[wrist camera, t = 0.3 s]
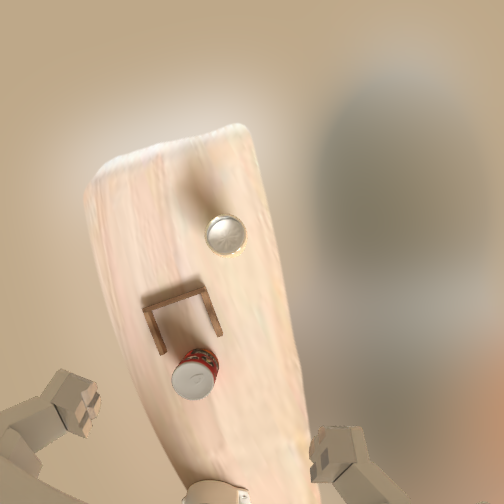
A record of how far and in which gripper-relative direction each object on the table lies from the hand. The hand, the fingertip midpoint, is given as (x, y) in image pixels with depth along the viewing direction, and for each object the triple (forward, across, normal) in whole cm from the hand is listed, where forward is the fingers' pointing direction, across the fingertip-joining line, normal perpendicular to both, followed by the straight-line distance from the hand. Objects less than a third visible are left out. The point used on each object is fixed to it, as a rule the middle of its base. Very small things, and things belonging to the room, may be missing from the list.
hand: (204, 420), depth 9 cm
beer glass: (+52, -3, -15) cm, 54 cm away
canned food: (+40, -5, -39) cm, 56 cm away
